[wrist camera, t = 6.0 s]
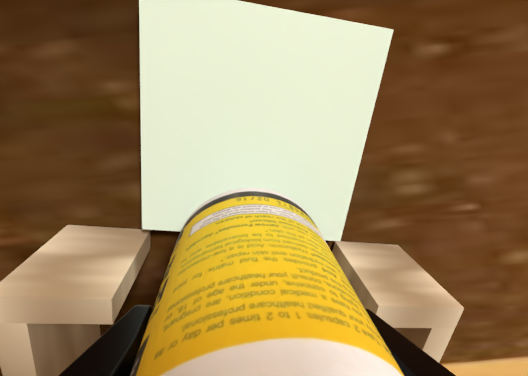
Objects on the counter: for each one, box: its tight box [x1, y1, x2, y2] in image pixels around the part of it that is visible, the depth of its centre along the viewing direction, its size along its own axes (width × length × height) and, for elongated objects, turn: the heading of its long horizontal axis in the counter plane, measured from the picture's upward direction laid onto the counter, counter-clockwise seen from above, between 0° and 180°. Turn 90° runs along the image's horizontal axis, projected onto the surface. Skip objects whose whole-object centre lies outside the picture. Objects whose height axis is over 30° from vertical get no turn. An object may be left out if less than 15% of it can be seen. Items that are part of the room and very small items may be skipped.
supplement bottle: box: [130, 187, 404, 376], centre depth 6 cm, size 5×5×10 cm
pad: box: [139, 0, 393, 241], centre depth 12 cm, size 9×9×1 cm
